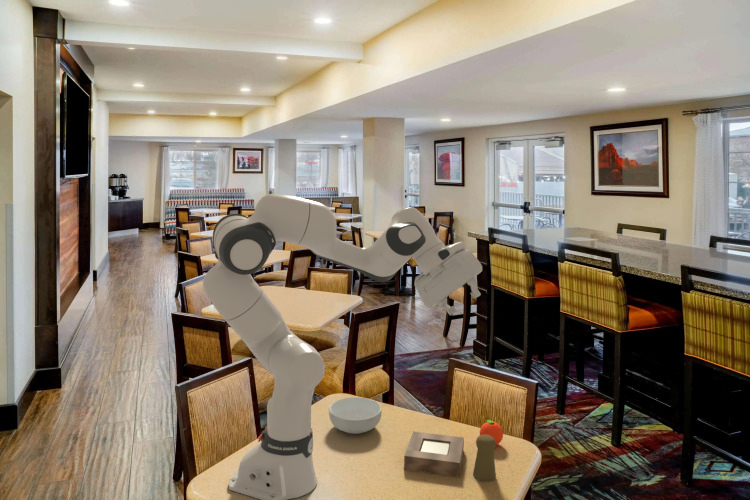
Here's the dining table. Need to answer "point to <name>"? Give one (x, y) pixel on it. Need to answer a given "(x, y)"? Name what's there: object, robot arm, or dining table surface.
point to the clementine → (492, 430)
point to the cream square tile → (435, 447)
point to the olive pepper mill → (485, 459)
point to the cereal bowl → (355, 414)
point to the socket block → (434, 455)
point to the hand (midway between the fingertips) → (465, 305)
